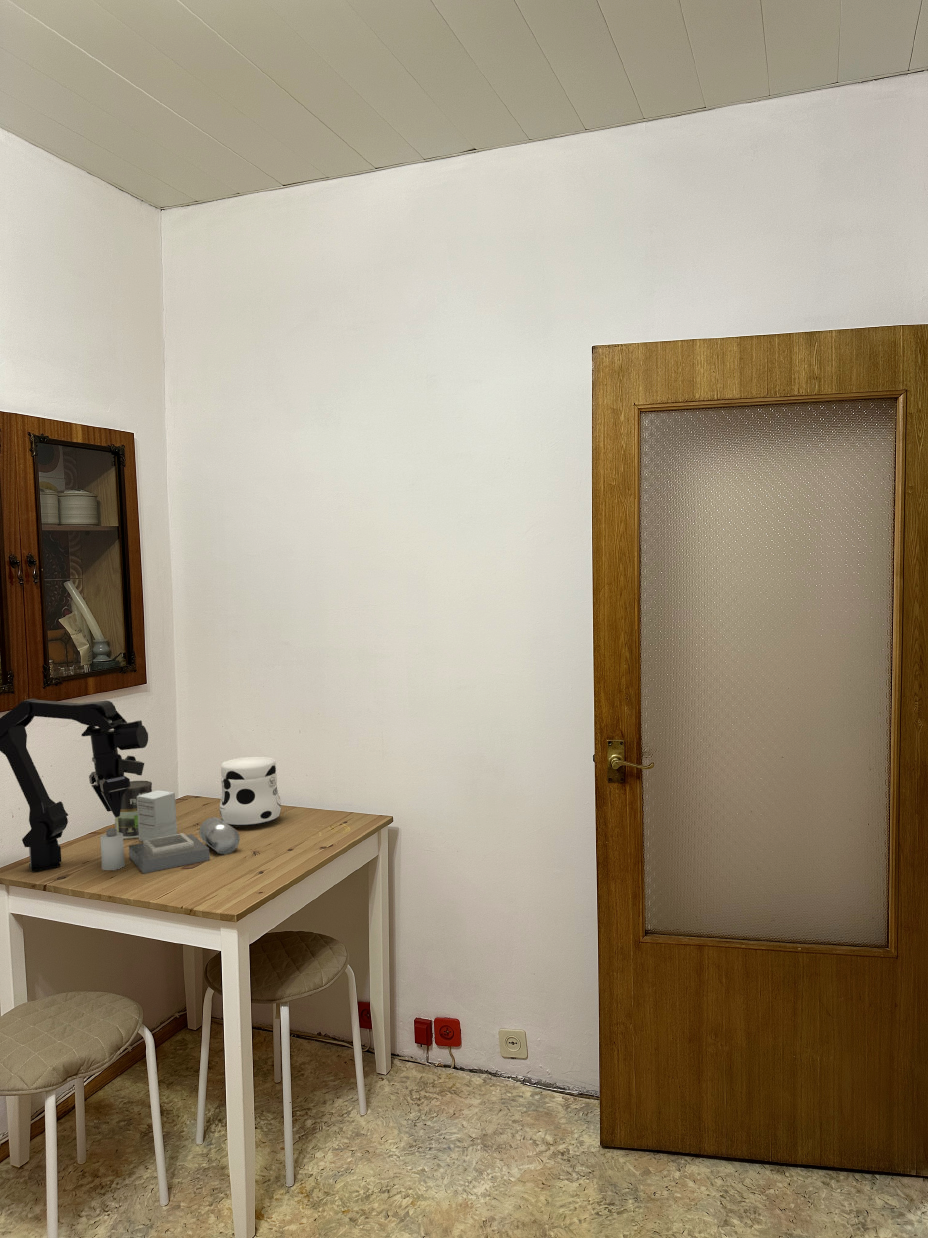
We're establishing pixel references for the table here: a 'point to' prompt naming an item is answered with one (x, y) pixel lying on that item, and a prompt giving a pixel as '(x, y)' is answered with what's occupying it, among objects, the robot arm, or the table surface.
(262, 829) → the table surface
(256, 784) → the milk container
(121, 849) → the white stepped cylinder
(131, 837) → the coffee can
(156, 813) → the supplement box
